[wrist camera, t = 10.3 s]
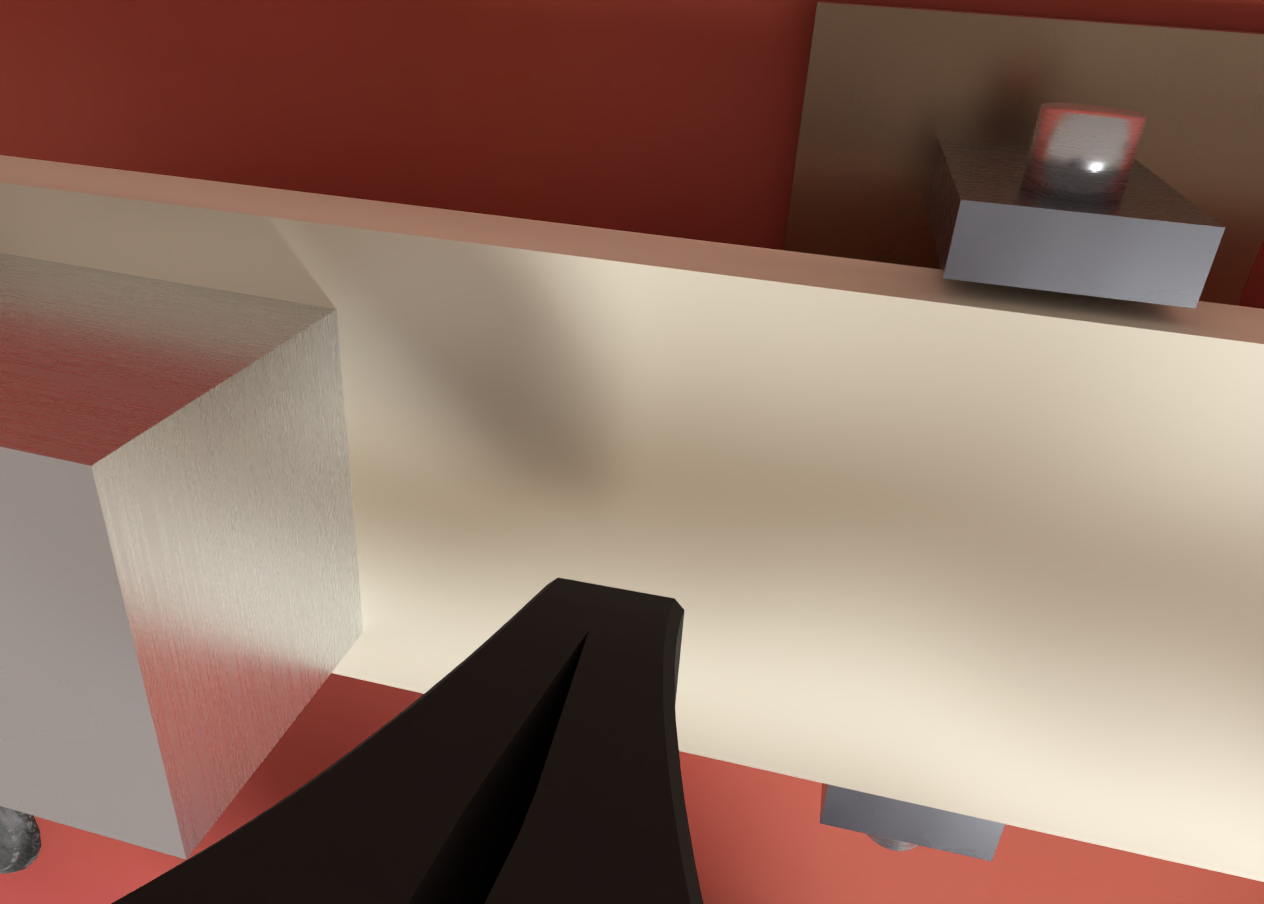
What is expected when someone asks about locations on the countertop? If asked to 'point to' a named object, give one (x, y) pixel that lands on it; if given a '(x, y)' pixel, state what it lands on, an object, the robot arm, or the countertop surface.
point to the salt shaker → (17, 840)
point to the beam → (784, 489)
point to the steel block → (163, 543)
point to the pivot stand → (1027, 190)
